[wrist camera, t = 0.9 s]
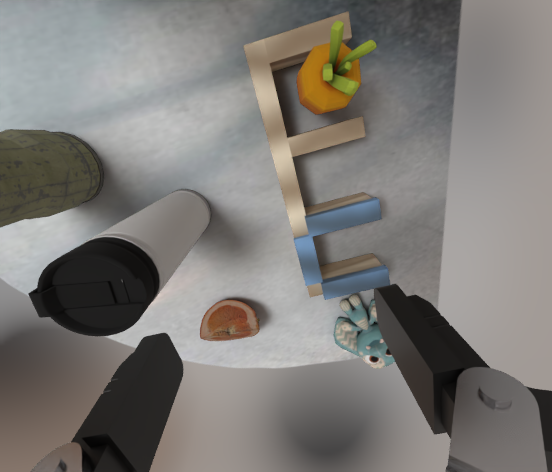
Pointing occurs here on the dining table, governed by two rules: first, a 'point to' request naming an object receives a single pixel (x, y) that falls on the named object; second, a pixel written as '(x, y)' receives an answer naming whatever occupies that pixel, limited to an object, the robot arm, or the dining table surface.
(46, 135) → the thermos
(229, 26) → the dining table surface
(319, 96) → the carrot
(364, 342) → the stuffed animal
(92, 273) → the travel mug
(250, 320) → the fruit slice
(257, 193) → the dining table surface
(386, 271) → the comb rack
